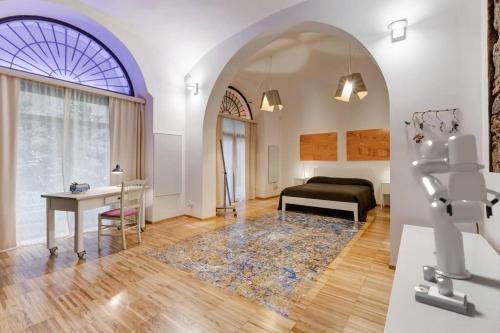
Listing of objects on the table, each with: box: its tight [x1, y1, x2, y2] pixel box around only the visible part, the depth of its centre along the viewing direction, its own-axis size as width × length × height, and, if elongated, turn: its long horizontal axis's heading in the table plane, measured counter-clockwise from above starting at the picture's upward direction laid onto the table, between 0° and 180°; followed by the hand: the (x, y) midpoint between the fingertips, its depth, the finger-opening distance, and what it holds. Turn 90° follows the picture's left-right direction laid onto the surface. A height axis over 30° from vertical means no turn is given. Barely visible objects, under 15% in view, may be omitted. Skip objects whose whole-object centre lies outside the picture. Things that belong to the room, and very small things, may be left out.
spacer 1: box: [422, 265, 437, 283], centre depth 94 cm, size 4×4×5 cm
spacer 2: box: [436, 276, 454, 297], centre depth 78 cm, size 4×4×5 cm
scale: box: [414, 284, 468, 316], centre depth 79 cm, size 10×14×3 cm
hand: (468, 216), depth 81 cm, fingers open, 9 cm apart
